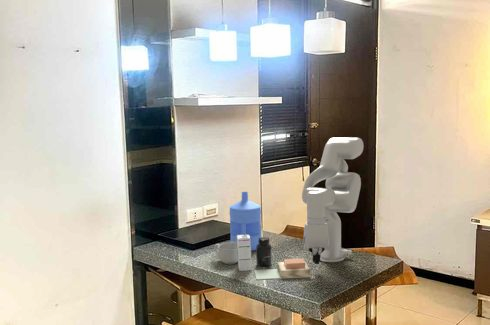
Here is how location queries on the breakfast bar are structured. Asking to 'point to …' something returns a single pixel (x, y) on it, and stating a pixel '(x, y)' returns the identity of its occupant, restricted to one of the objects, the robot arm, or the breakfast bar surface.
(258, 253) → the supplement bottle
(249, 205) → the water jug
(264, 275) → the mat
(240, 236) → the syrup box
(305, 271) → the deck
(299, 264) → the tile
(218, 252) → the teacup
